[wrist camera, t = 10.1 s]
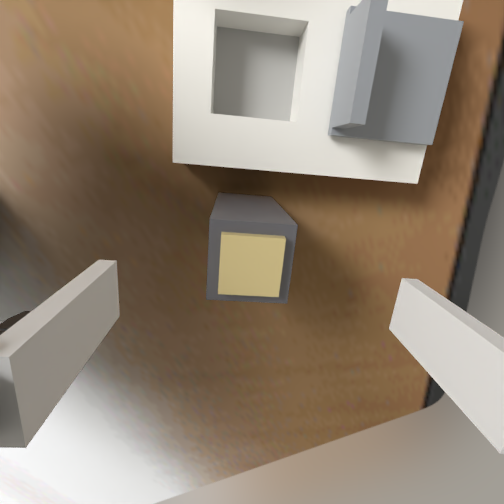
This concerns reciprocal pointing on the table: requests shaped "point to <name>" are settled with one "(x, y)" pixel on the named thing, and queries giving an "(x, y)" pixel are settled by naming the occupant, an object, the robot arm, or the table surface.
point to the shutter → (392, 74)
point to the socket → (275, 88)
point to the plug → (249, 249)
